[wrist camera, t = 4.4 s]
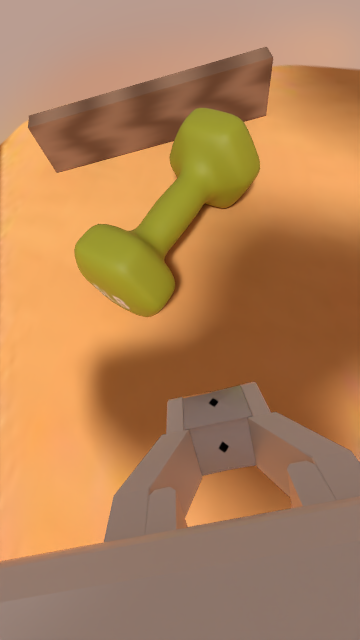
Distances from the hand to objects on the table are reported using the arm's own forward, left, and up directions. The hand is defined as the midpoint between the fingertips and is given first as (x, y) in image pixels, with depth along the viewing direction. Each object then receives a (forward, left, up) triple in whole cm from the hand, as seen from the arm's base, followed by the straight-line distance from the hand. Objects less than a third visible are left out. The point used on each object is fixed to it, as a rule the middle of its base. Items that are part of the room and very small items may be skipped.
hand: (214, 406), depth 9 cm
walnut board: (0, -30, -10) cm, 32 cm away
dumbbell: (0, -15, -10) cm, 19 cm away
